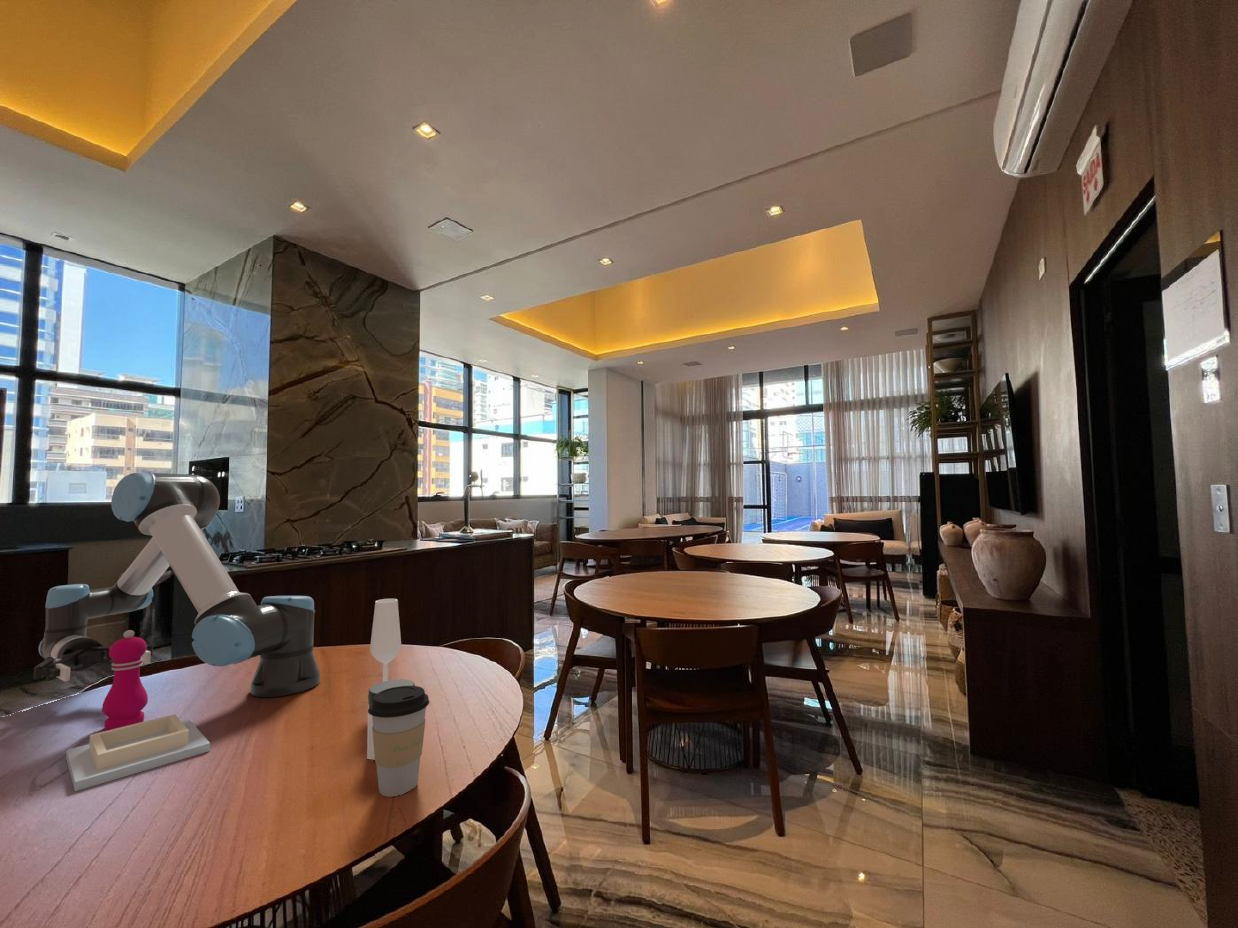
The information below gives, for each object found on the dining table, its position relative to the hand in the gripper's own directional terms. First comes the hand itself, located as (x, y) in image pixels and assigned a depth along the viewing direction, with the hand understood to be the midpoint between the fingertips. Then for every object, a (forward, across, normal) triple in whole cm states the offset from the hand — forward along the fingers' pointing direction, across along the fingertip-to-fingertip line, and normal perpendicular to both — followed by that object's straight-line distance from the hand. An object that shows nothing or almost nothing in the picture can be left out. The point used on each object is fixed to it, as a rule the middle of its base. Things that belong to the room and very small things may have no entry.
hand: (110, 665), depth 119 cm
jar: (+71, -20, -11) cm, 75 cm away
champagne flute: (+50, -34, -11) cm, 62 cm away
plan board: (+30, +4, -11) cm, 32 cm away
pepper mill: (+10, 0, -11) cm, 15 cm away
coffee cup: (+83, -13, -11) cm, 85 cm away
